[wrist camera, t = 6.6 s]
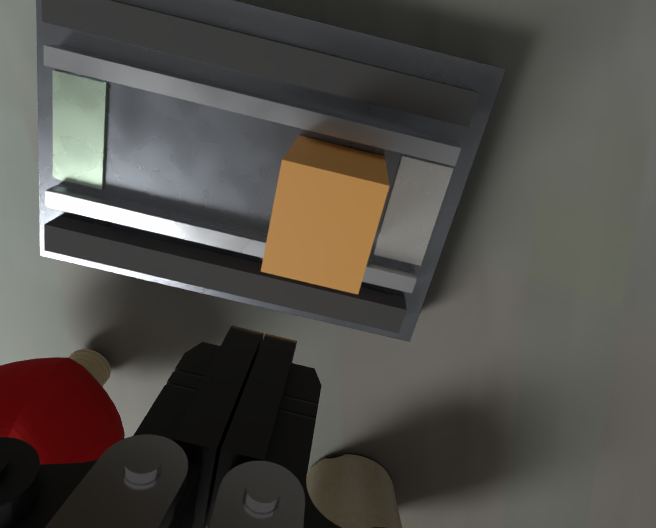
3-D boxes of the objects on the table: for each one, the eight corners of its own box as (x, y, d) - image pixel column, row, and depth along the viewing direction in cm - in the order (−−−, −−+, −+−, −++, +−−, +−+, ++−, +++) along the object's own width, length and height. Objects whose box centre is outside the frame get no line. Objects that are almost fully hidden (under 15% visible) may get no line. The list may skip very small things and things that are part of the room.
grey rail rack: (474, 90, 22) (480, 93, 20) (397, 320, 26) (398, 333, 25) (59, -14, 21) (41, -17, 20) (59, 240, 26) (44, 250, 25)
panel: (492, 66, 23) (513, 71, 20) (406, 318, 29) (411, 354, 26) (68, -41, 23) (16, -55, 19) (66, 237, 29) (26, 264, 25)
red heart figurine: (19, 378, 33) (-112, 507, 24) (28, 289, 30) (-117, 398, 21) (156, 421, 34) (79, 562, 25) (178, 338, 31) (99, 463, 22)
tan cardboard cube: (384, 156, 23) (389, 186, 18) (359, 247, 25) (358, 294, 20) (298, 135, 23) (281, 159, 18) (280, 228, 25) (260, 271, 20)
